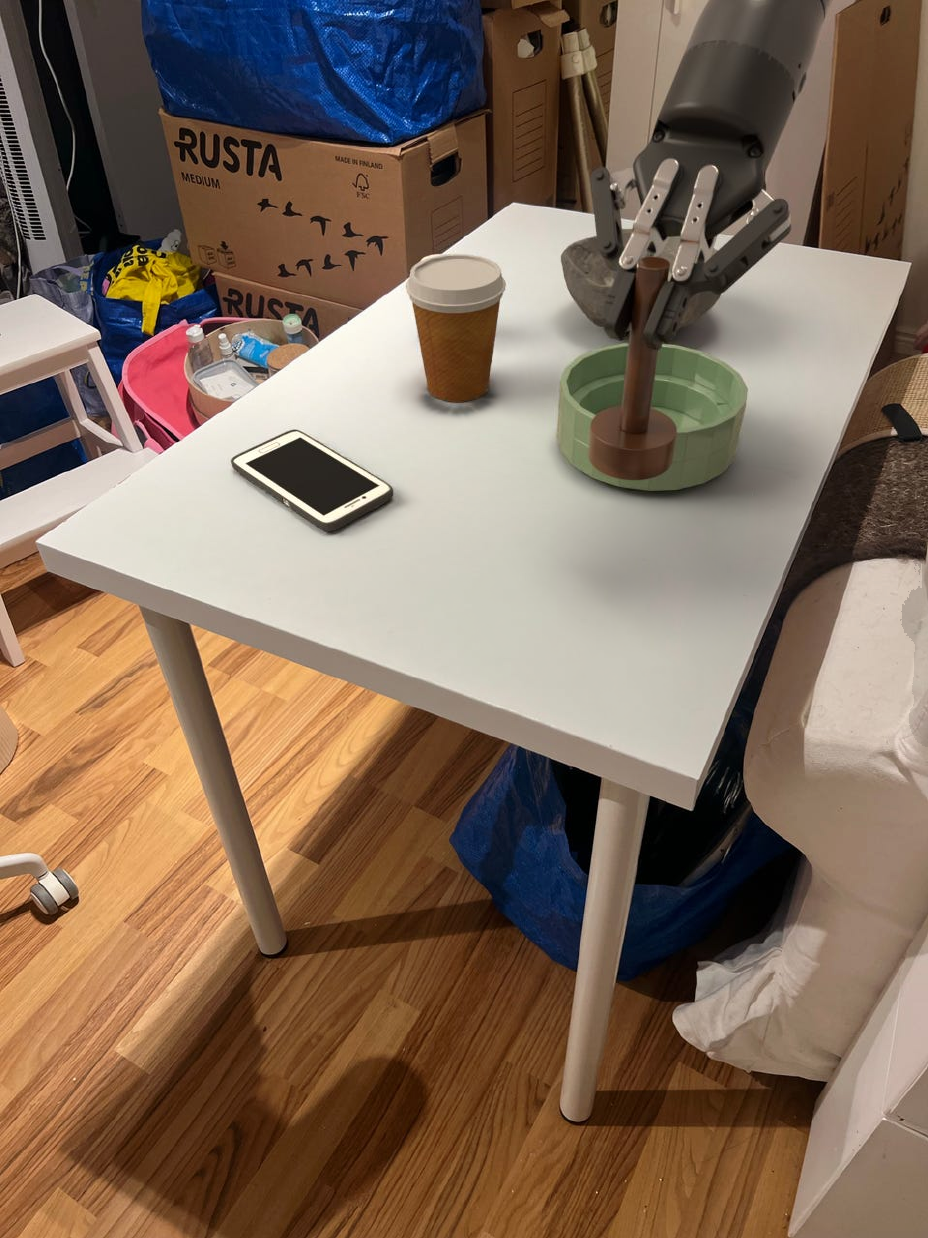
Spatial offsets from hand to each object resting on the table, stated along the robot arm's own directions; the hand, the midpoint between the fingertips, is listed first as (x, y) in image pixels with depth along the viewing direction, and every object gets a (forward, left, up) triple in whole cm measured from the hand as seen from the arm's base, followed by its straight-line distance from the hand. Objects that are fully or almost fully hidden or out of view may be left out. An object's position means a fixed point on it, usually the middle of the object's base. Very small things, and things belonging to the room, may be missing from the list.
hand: (632, 338), depth 58 cm
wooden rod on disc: (-1, -2, -10) cm, 10 cm away
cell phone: (+27, -7, -20) cm, 35 cm away
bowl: (+3, -46, -20) cm, 50 cm away
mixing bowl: (-1, -20, -20) cm, 28 cm away
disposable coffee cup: (+19, -27, -20) cm, 39 cm away
